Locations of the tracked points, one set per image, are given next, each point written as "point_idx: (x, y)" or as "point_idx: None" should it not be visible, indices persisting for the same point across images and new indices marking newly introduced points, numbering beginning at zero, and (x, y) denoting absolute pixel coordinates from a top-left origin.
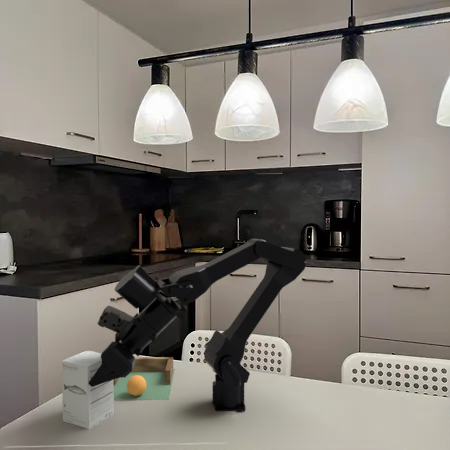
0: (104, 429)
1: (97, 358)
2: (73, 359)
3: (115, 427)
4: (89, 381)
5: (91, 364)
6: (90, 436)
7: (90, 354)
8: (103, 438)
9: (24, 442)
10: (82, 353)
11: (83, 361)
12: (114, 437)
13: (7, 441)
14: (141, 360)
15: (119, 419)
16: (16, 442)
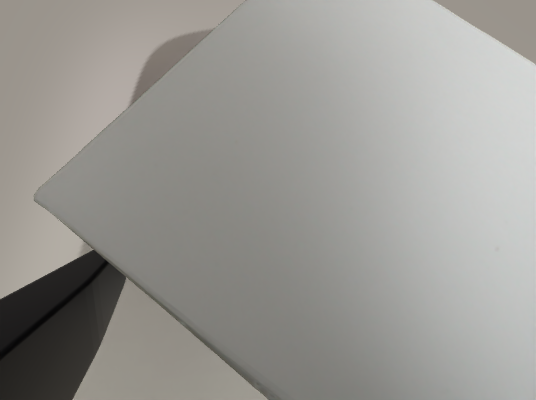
0: (177, 335)
1: (337, 300)
2: (334, 16)
3: (183, 382)
4: (89, 252)
5: (100, 240)
6: (135, 285)
7: (497, 180)
8: (104, 340)
9: (153, 84)
10: (526, 87)
11: (239, 121)
12: (98, 388)
13: (172, 41)
14: None
15: (250, 392)
16: (160, 64)
